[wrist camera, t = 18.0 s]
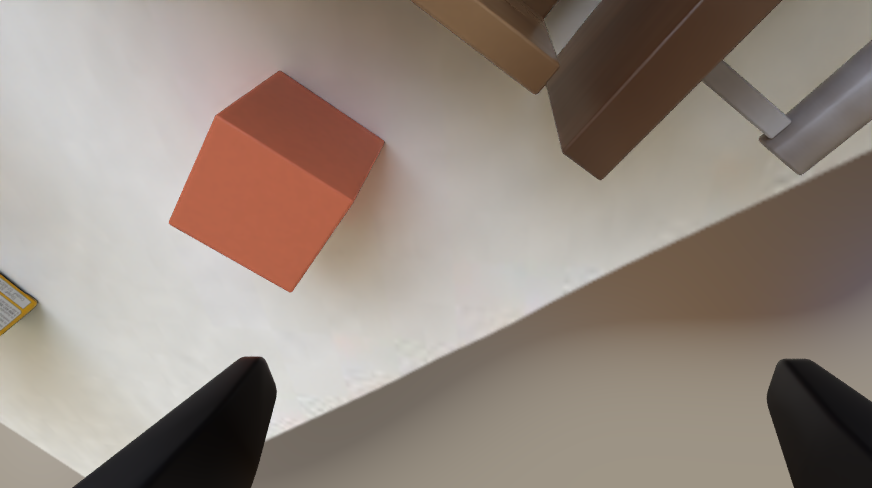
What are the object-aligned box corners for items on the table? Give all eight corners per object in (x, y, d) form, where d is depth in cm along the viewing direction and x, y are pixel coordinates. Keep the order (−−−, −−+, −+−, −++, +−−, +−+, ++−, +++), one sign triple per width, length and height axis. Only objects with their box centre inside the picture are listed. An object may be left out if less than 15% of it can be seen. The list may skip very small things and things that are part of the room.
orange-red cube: (331, 222, 22) (290, 294, 18) (234, 162, 21) (166, 224, 17) (385, 140, 20) (353, 202, 16) (279, 69, 19) (215, 114, 15)
